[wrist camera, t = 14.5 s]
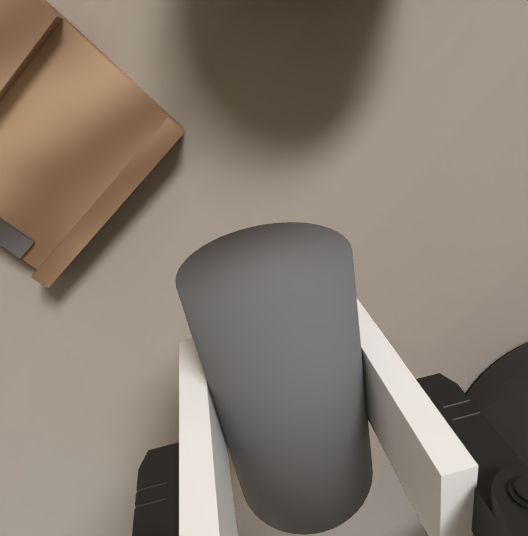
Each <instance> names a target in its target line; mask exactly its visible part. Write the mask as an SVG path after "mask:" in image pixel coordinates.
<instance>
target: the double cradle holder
mask: <svg viewBox="0 0 528 536" xmlns="http://www.w3.org/2000/svg"><path fill="white" fill-rule="evenodd" d="M183 134H184V128H183V127H182V126H181V125H179V124H178V123H177V122H176V121H175V120H174V119H173V118H172V117H171V116H170V115H169V114H168V113H167V112H165V111H164V110H163V109H162V108H161V107H160V106H159V105H158V104H157V103H156V102H155V101H154V100H153V99H152V98H150V97H149V96H148V95H147V94H146V93H145V92H144V91H143V90H142V89H141V88H140V87H139V86H138V85H136V84H135V83H134V82H133V81H132V80H131V79H130V78H129V77H128V76H127V75H126V74H125V73H124V72H123V71H121V70H120V69H119V68H118V67H117V66H116V65H115V64H114V63H113V62H112V61H111V60H110V59H109V58H107V57H106V56H105V55H104V54H103V53H102V52H101V51H100V50H99V49H98V48H97V47H96V46H95V45H94V44H92V43H91V42H90V41H89V40H88V39H87V38H86V37H85V36H84V35H83V34H82V33H81V32H80V31H78V30H77V29H76V28H75V27H74V26H73V25H72V24H71V23H70V22H69V21H68V20H67V19H66V18H64V17H63V16H62V15H61V14H60V13H59V12H58V11H57V10H56V9H55V8H54V7H53V6H52V5H51V4H49V3H48V2H47V1H46V0H0V246H2V247H3V248H5V249H6V250H8V251H9V252H11V253H13V254H14V255H16V256H17V257H19V258H20V259H22V260H23V261H25V262H26V263H28V264H29V265H31V266H32V267H34V268H35V269H37V271H36V272H35V273H34V274H33V276H32V277H31V278H33V279H35V280H36V281H38V282H39V283H41V284H42V285H44V286H45V287H47V288H49V287H50V286H51V285H52V283H53V282H54V281H55V280H56V279H57V278H58V277H59V275H60V274H61V273H62V272H63V271H64V270H65V269H66V267H67V266H68V265H69V264H70V263H71V262H72V261H73V259H74V258H75V257H76V256H77V255H78V254H79V253H80V251H81V250H82V249H83V248H84V247H85V246H86V245H87V243H88V242H89V241H90V240H91V239H92V238H93V237H94V235H95V234H96V233H97V232H98V231H99V230H100V229H101V227H102V226H103V225H104V224H105V223H106V222H107V221H108V219H109V218H110V217H111V216H112V215H113V214H114V213H115V211H116V210H117V209H118V208H119V207H120V206H121V205H122V203H123V202H124V201H125V200H126V199H127V198H128V197H129V196H130V194H131V193H132V192H133V191H134V190H135V189H136V188H137V186H138V185H139V184H140V183H141V182H142V181H143V180H144V178H145V177H146V176H147V175H148V174H149V173H150V172H151V170H152V169H153V168H154V167H155V166H156V165H157V164H158V162H159V161H160V160H161V159H162V158H163V157H164V156H165V154H166V153H167V152H168V151H169V150H170V149H171V148H172V146H173V145H174V144H175V143H176V142H177V141H178V140H179V138H180V137H181V136H182V135H183Z"/></svg>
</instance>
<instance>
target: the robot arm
mask: <svg viewBox="0 0 528 536" xmlns="http://www.w3.org/2000/svg"><path fill="white" fill-rule="evenodd" d="M357 308H358V318H359V329H360V340H361V351H362V362H363V373H364V384H365V395H366V406H367V416H368V420H369V422H370V424H371V426H372V428H373V430H374V432H375V433H376V435H377V437H378V439H379V441H380V443H381V445H382V447H383V449H384V451H385V453H386V455H387V457H388V459H389V461H390V463H391V465H392V466H393V468H394V470H395V472H396V474H397V476H398V478H399V480H400V482H401V484H402V486H403V488H404V490H405V492H406V494H407V496H408V497H409V499H410V501H411V503H412V505H413V507H414V509H415V511H416V513H417V515H418V517H419V519H420V521H421V523H422V525H423V527H424V529H425V530H426V532H427V534H428V536H473V534H474V535H475V536H528V343H526V344H523V345H521V346H520V347H518V348H516V349H514V350H512V351H511V352H509V353H508V354H506V355H505V356H503V357H502V358H500V359H499V360H498V361H497V362H495V363H494V364H493V365H492V366H491V367H490V368H488V369H487V370H486V371H485V372H484V373H483V374H482V375H481V376H480V378H479V379H478V380H477V381H476V382H475V383H474V385H473V386H472V387H471V389H470V390H469V392H468V393H467V395H466V394H465V393H464V391H463V390H462V389H461V388H460V387H459V385H458V384H456V383H455V382H453V381H451V380H450V379H448V378H447V377H445V376H443V375H442V374H440V373H438V374H435V375H431V376H427V377H423V378H419V379H415V378H414V376H413V375H412V373H411V372H410V371H409V369H408V368H407V367H406V365H405V364H404V362H403V361H402V360H401V358H400V357H399V356H398V354H397V353H396V351H395V350H394V349H393V347H392V346H391V345H390V343H389V342H388V340H387V339H386V338H385V336H384V335H383V333H382V332H381V331H380V329H379V328H378V327H377V325H376V324H375V322H374V321H373V320H372V318H371V317H370V316H369V314H368V313H367V311H366V310H365V309H364V307H363V306H362V305H361V303H360V302H359V300H358V299H357ZM135 507H136V509H135V511H134V521H133V532H132V536H238V533H237V525H236V516H235V508H234V500H233V492H232V483H231V475H230V467H229V459H228V451H227V442H226V439H225V436H224V433H223V430H222V427H221V424H220V420H219V417H218V414H217V411H216V408H215V405H214V402H213V399H212V396H211V392H210V389H209V386H208V383H207V380H206V377H205V374H204V371H203V368H202V365H201V362H200V359H199V356H198V353H197V349H196V346H195V343H194V340H193V338H191V339H187V340H183V341H179V443H175V444H171V445H167V446H163V447H160V448H156V449H152V450H148V452H147V454H146V456H145V458H144V460H143V462H142V464H141V466H140V468H139V471H138V481H137V493H136V501H135Z"/></svg>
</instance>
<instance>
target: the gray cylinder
mask: <svg viewBox="0 0 528 536" xmlns="http://www.w3.org/2000/svg"><path fill="white" fill-rule="evenodd" d="M176 288H177V291H178V294H179V297H180V300H181V303H182V306H183V309H184V312H185V316H186V319H187V322H188V325H189V328H190V331H191V334H192V337H193V340H194V343H195V346H196V349H197V353H198V356H199V359H200V362H201V365H202V368H203V371H204V374H205V377H206V380H207V383H208V386H209V389H210V392H211V396H212V399H213V402H214V405H215V408H216V411H217V414H218V417H219V420H220V424H221V427H222V430H223V433H224V436H225V439H226V442H227V445H228V448H229V451H230V454H231V457H232V461H233V464H234V467H235V470H236V473H237V476H238V479H239V482H240V485H241V488H242V491H243V494H244V497H245V499H246V502H247V503H248V505H249V507H250V508H251V510H252V511H253V512H254V513H255V514H256V515H257V516H258V517H259V518H260V519H261V520H262V521H263V522H265V523H266V524H268V525H269V526H271V527H273V528H275V529H278V530H281V531H284V532H287V533H293V534H315V533H320V532H324V531H327V530H330V529H333V528H335V527H337V526H339V525H341V524H342V523H344V522H345V521H347V520H348V519H349V518H351V517H352V516H353V515H354V514H355V513H356V512H357V511H358V509H359V508H360V507H361V506H362V504H363V503H364V501H365V499H366V497H367V495H368V493H369V490H370V487H371V483H372V474H373V471H372V459H371V448H370V437H369V427H368V416H367V406H366V395H365V384H364V373H363V362H362V351H361V340H360V329H359V318H358V308H357V297H356V286H355V275H354V264H353V254H352V248H351V245H350V243H349V242H348V240H347V239H346V238H345V237H344V236H343V235H341V234H340V233H338V232H337V231H334V230H332V229H330V228H327V227H324V226H320V225H315V224H309V223H292V222H288V223H273V224H266V225H259V226H255V227H250V228H246V229H242V230H239V231H236V232H233V233H230V234H227V235H225V236H222V237H220V238H218V239H215V240H213V241H211V242H210V243H208V244H206V245H204V246H203V247H201V248H199V249H198V250H197V251H195V252H194V253H193V254H192V255H190V256H189V257H188V258H187V259H186V260H185V262H184V263H183V264H182V265H181V267H180V268H179V270H178V273H177V275H176Z"/></svg>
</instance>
